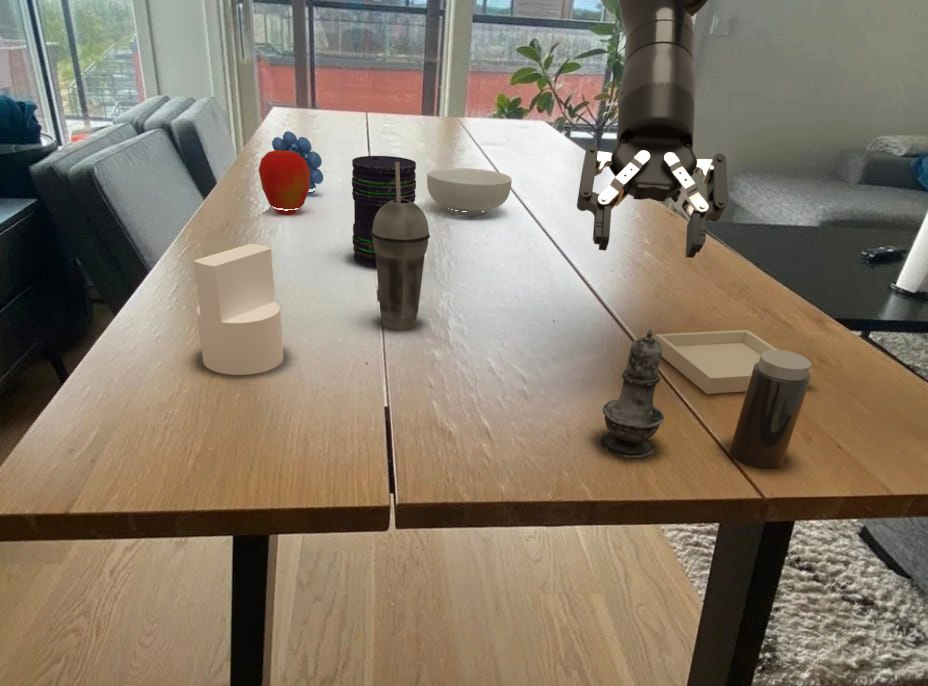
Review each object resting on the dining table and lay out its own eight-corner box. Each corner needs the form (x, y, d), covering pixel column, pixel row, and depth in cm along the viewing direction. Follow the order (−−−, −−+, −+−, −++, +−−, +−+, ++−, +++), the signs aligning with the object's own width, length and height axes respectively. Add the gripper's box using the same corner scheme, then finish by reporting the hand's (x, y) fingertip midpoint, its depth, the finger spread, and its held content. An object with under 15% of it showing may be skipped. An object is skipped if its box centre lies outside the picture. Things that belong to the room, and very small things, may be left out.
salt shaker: (586, 433, 77) (606, 320, 71) (637, 427, 79) (661, 316, 72) (615, 463, 72) (638, 344, 66) (668, 456, 74) (696, 339, 68)
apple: (320, 212, 148) (318, 145, 142) (289, 221, 141) (285, 151, 135) (283, 204, 152) (279, 139, 146) (252, 212, 145) (246, 144, 139)
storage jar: (425, 265, 123) (428, 166, 115) (370, 272, 118) (370, 169, 110) (395, 248, 130) (397, 154, 122) (342, 254, 125) (340, 157, 117)
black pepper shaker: (763, 441, 78) (792, 347, 72) (793, 466, 74) (827, 368, 68) (719, 444, 77) (746, 349, 71) (748, 470, 73) (778, 371, 67)
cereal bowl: (525, 215, 155) (529, 178, 151) (464, 225, 145) (466, 186, 141) (470, 198, 165) (472, 163, 162) (409, 207, 156) (410, 170, 152)
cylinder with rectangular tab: (242, 337, 93) (232, 238, 87) (299, 355, 90) (293, 253, 83) (185, 361, 87) (170, 255, 80) (245, 381, 83) (234, 272, 77)
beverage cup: (435, 320, 102) (443, 160, 91) (411, 338, 96) (416, 169, 86) (387, 309, 104) (389, 152, 94) (360, 326, 99) (359, 161, 88)
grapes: (262, 195, 158) (258, 132, 152) (277, 188, 164) (273, 127, 157) (315, 201, 156) (313, 137, 149) (328, 194, 161) (326, 132, 155)
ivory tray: (743, 344, 101) (747, 329, 99) (806, 387, 90) (811, 371, 89) (652, 348, 97) (655, 334, 96) (706, 394, 87) (710, 378, 86)
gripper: (591, 74, 75) (579, 223, 71) (739, 84, 74) (735, 235, 70) (581, 126, 82) (570, 263, 79) (715, 136, 81) (710, 275, 78)
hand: (648, 250), depth 75 cm, fingers open, 8 cm apart
